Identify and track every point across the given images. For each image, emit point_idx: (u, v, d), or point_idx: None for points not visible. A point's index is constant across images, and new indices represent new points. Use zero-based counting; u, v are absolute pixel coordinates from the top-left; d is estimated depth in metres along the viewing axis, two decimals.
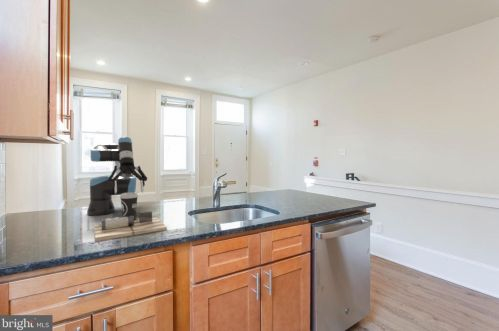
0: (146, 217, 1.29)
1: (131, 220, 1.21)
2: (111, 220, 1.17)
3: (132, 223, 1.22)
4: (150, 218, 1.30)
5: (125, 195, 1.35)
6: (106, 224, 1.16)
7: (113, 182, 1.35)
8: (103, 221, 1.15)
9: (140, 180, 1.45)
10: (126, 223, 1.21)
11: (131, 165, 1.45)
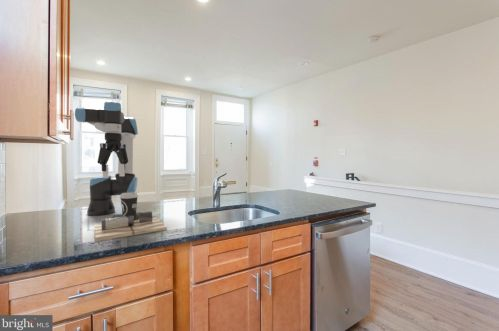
0: (146, 217, 1.29)
1: (131, 220, 1.21)
2: (111, 220, 1.17)
3: (132, 223, 1.22)
4: (150, 218, 1.30)
5: (125, 195, 1.35)
6: (106, 224, 1.16)
7: (104, 166, 1.18)
8: (103, 221, 1.15)
9: (120, 161, 1.29)
10: (126, 223, 1.21)
11: (118, 141, 1.26)
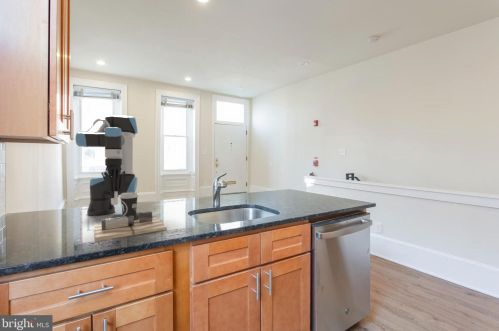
0: (146, 217, 1.29)
1: (131, 220, 1.21)
2: (111, 220, 1.17)
3: (132, 223, 1.22)
4: (150, 218, 1.30)
5: (125, 195, 1.35)
6: (106, 224, 1.16)
7: (113, 193, 1.23)
8: (103, 221, 1.15)
9: None
10: (126, 223, 1.21)
11: (120, 166, 1.27)
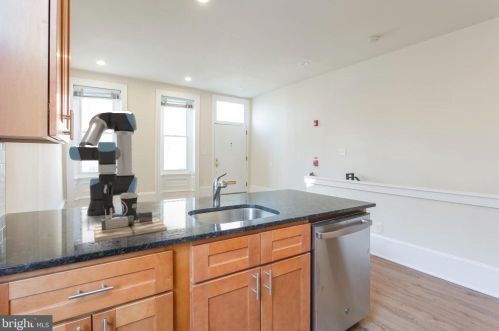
0: (146, 217, 1.29)
1: (131, 220, 1.21)
2: (111, 220, 1.17)
3: (132, 223, 1.22)
4: (150, 218, 1.30)
5: (125, 195, 1.35)
6: (106, 224, 1.16)
7: (109, 210, 1.19)
8: (103, 221, 1.15)
9: None
10: (126, 223, 1.21)
11: None
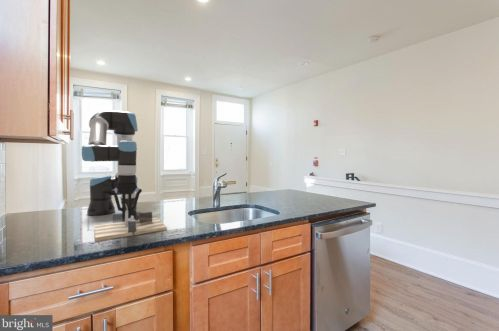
0: (146, 217, 1.29)
1: None
2: (134, 220, 1.16)
3: None
4: (150, 218, 1.30)
5: (125, 195, 1.35)
6: None
7: None
8: (135, 222, 1.14)
9: None
10: None
11: None
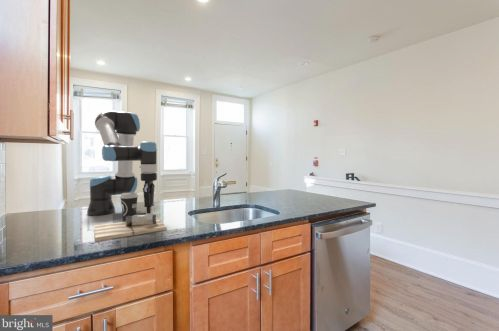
0: None
1: None
2: None
3: None
4: None
5: (125, 195, 1.35)
6: None
7: None
8: None
9: (150, 203, 1.23)
10: None
11: None
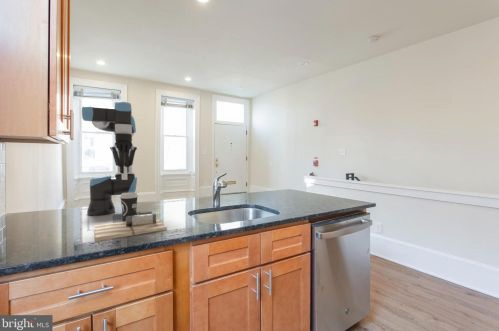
0: None
1: None
2: None
3: None
4: None
5: (125, 195, 1.35)
6: None
7: None
8: None
9: (123, 163, 1.24)
10: None
11: None
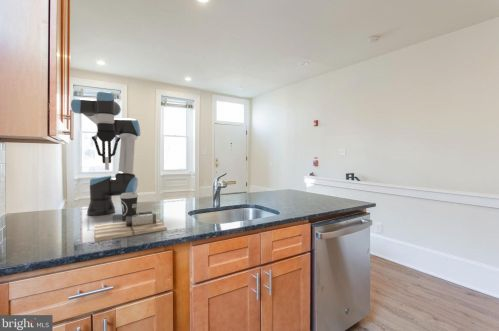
0: None
1: None
2: None
3: None
4: None
5: (125, 195, 1.35)
6: None
7: None
8: None
9: None
10: None
11: None
